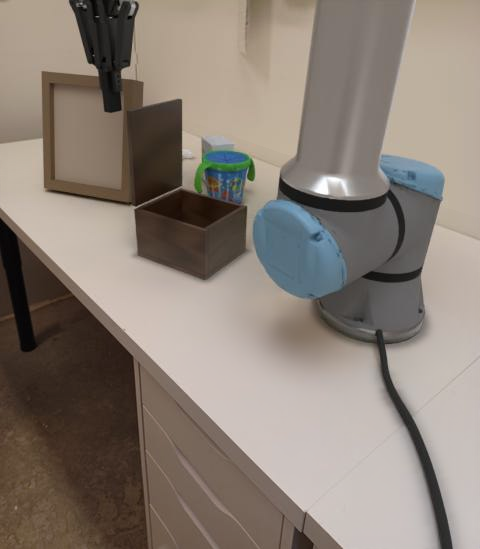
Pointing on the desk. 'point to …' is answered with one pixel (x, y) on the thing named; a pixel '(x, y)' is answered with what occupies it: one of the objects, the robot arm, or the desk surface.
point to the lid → (155, 150)
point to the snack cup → (225, 174)
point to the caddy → (191, 232)
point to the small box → (215, 146)
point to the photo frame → (86, 136)
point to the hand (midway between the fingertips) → (113, 110)
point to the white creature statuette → (186, 154)
